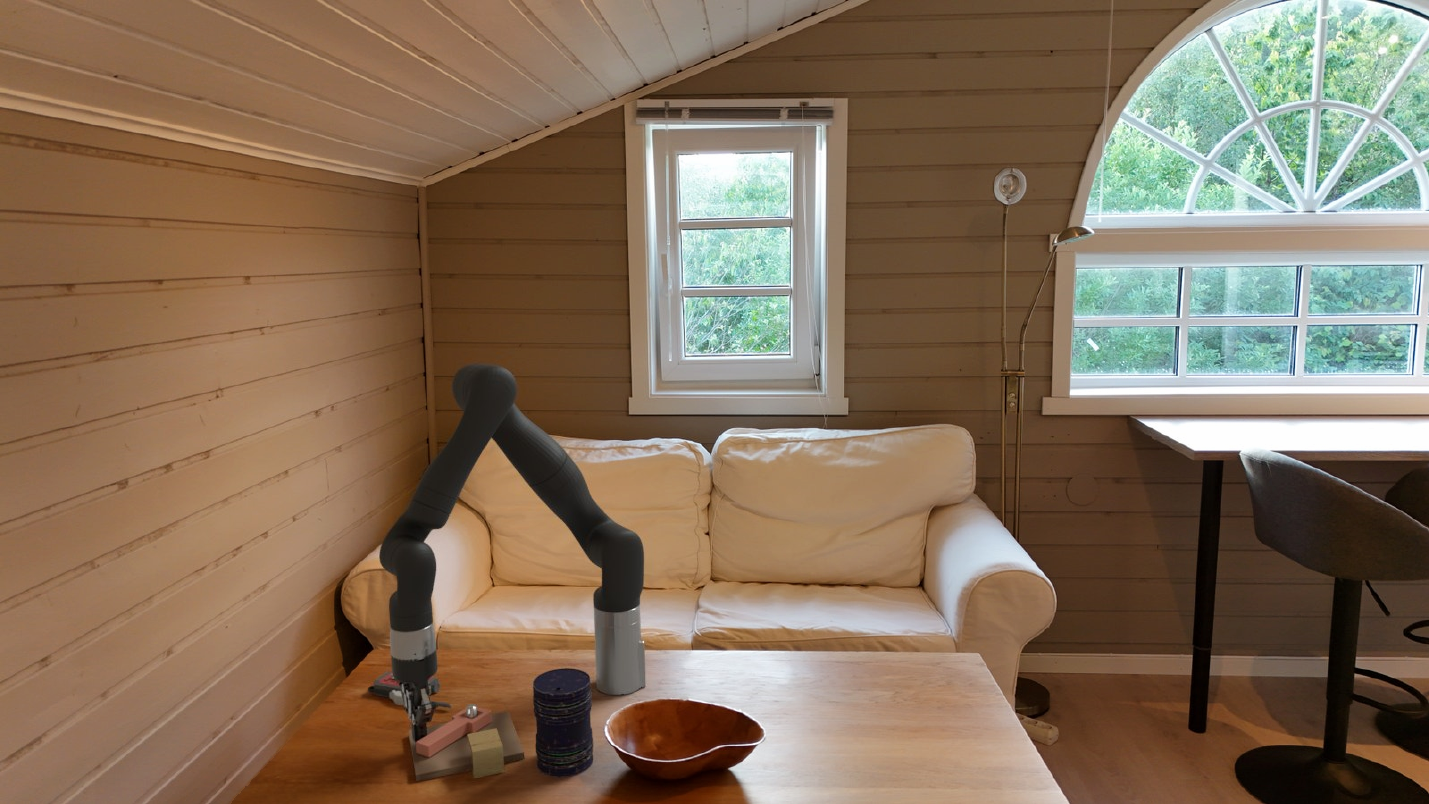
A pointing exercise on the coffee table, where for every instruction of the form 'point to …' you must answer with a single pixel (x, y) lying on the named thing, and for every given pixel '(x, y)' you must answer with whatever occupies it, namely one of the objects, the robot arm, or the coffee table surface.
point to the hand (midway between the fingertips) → (420, 740)
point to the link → (453, 731)
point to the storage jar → (563, 722)
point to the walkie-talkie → (391, 689)
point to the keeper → (486, 753)
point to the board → (465, 750)
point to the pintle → (471, 711)
